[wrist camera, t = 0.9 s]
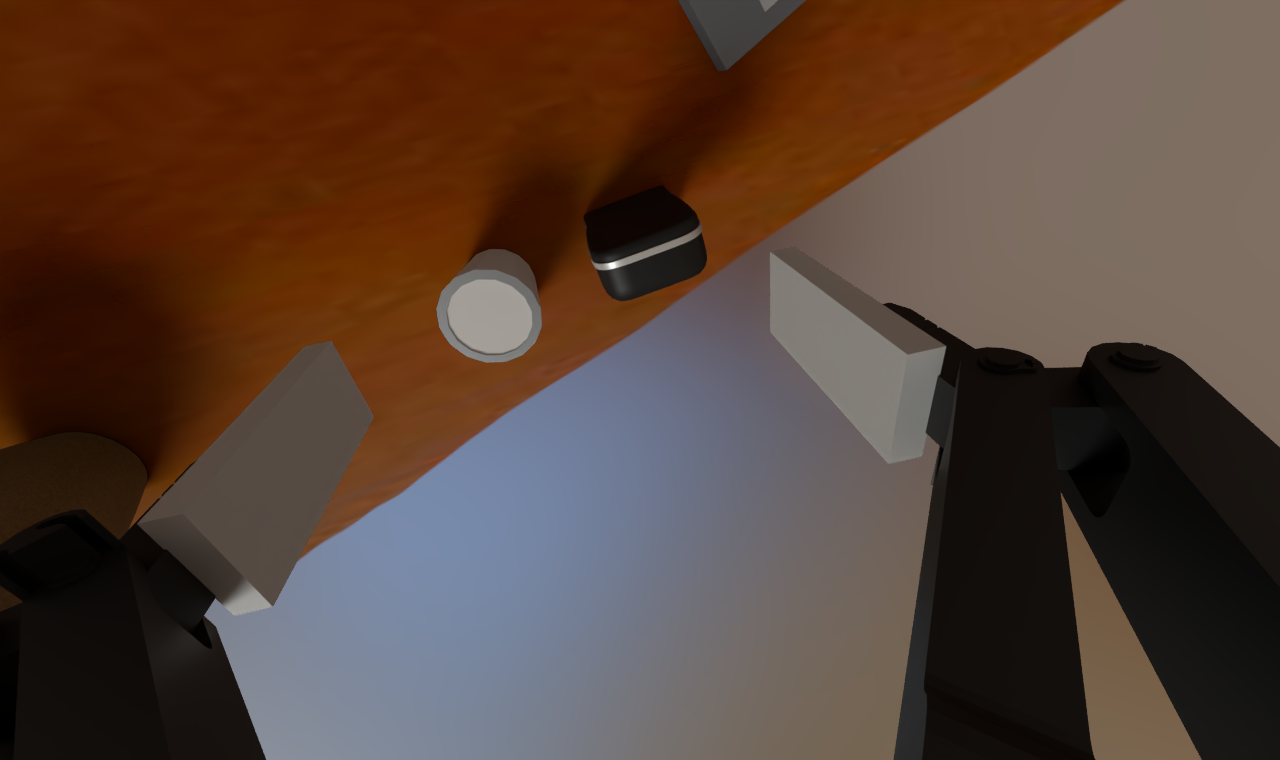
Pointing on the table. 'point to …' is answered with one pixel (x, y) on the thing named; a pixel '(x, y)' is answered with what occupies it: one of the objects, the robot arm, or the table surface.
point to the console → (734, 25)
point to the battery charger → (645, 243)
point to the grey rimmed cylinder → (491, 307)
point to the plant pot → (68, 484)
